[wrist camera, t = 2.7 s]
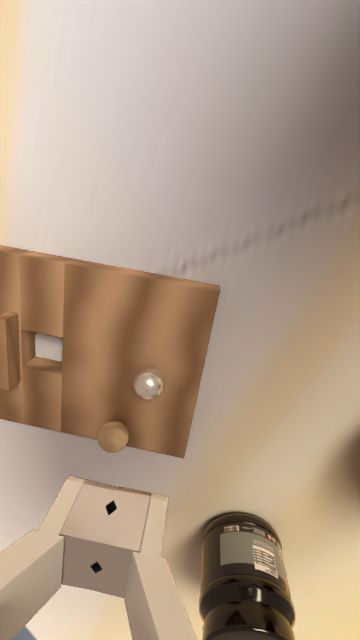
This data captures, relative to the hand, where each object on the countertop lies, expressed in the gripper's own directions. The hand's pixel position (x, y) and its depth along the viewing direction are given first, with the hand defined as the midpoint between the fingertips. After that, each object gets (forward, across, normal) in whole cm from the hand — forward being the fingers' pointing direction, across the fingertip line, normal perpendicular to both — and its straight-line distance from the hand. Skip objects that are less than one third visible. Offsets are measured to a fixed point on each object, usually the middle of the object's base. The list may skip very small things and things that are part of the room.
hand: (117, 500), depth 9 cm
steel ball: (+19, +2, +8) cm, 21 cm away
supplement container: (+24, -14, +32) cm, 42 cm away
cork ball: (+19, +4, +16) cm, 25 cm away
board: (+23, +8, +8) cm, 26 cm away
